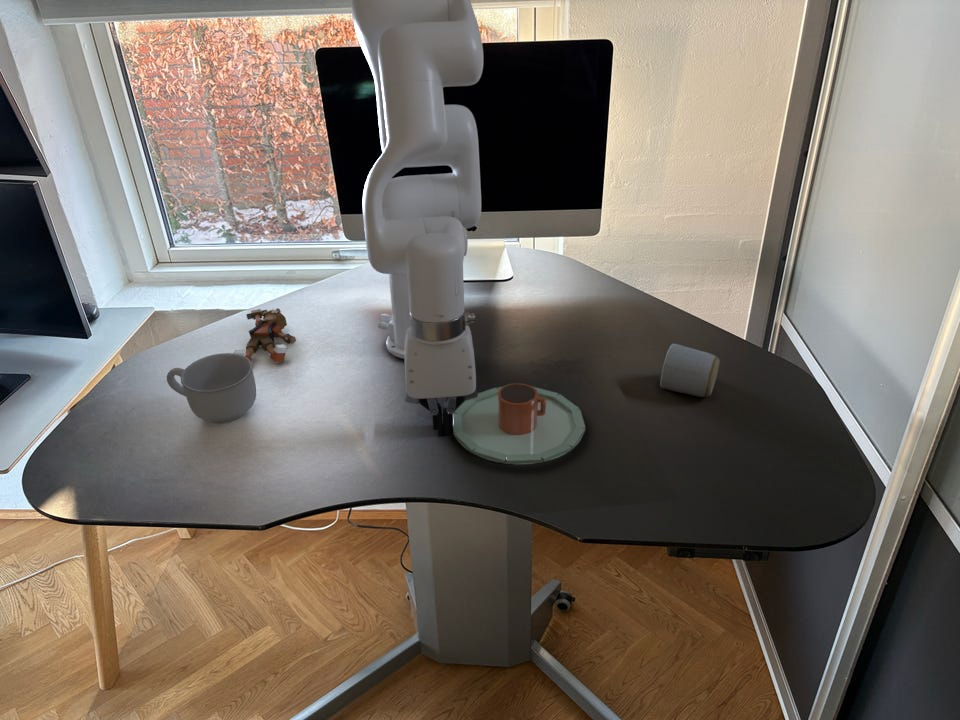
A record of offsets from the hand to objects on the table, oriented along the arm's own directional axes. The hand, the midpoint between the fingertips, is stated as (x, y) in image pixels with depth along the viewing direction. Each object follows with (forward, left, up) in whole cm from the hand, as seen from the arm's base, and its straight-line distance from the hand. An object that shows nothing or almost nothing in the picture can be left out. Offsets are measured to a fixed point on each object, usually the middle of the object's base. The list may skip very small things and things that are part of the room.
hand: (443, 431), depth 109 cm
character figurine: (-45, +10, -1) cm, 46 cm away
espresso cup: (+9, +7, 0) cm, 11 cm away
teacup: (-36, -11, -1) cm, 38 cm away
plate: (+9, +7, -1) cm, 12 cm away
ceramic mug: (+29, +31, -1) cm, 42 cm away
